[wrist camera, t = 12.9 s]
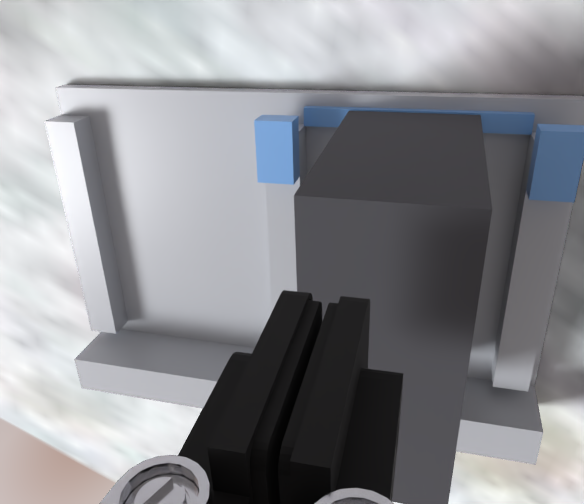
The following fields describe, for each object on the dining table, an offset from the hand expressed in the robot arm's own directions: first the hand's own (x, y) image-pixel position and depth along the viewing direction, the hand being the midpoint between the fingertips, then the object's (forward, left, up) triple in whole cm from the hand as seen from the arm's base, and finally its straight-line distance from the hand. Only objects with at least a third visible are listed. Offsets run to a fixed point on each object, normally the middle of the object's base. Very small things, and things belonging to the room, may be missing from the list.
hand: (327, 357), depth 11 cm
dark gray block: (+2, +1, -9) cm, 9 cm away
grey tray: (+3, -3, -10) cm, 11 cm away
